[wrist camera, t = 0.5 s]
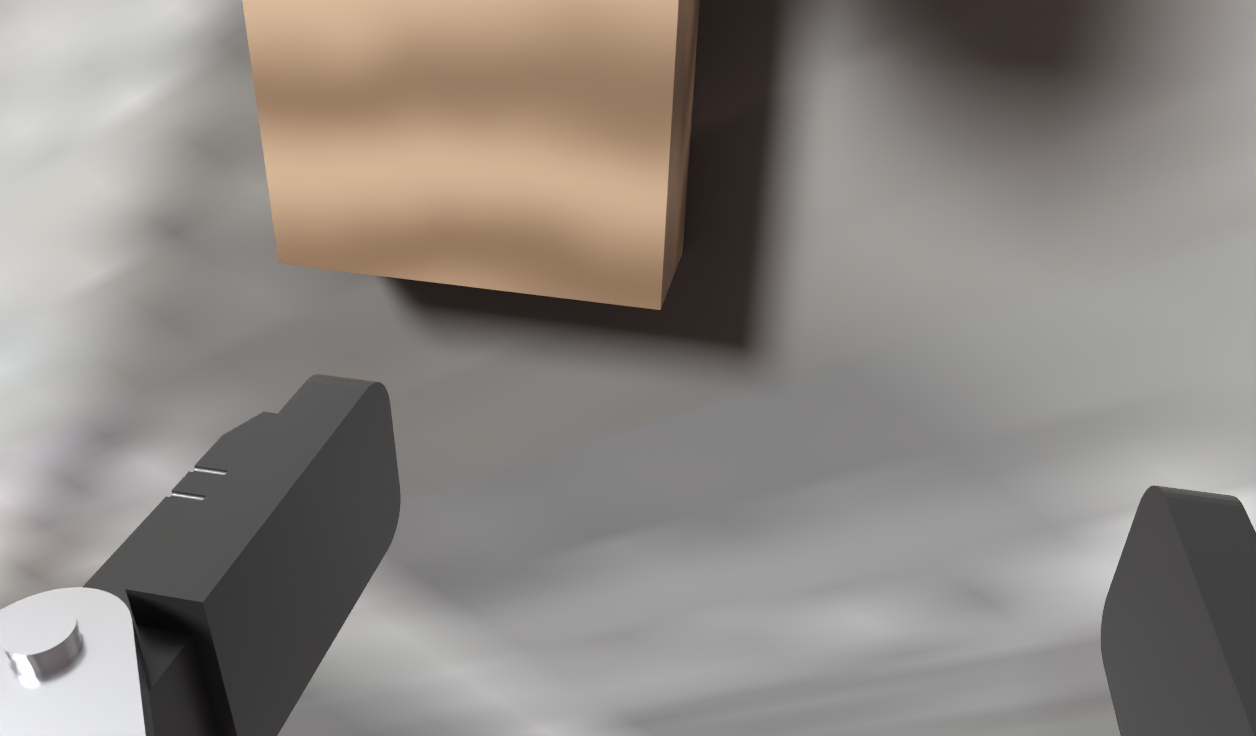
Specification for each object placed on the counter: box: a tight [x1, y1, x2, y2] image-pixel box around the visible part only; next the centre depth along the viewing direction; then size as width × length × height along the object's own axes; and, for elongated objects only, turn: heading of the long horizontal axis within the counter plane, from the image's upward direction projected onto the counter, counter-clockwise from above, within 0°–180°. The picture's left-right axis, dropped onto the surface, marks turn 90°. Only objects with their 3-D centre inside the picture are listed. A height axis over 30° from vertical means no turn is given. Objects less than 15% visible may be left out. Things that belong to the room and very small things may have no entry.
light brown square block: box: [242, 0, 700, 310], centre depth 35 cm, size 15×14×5 cm
